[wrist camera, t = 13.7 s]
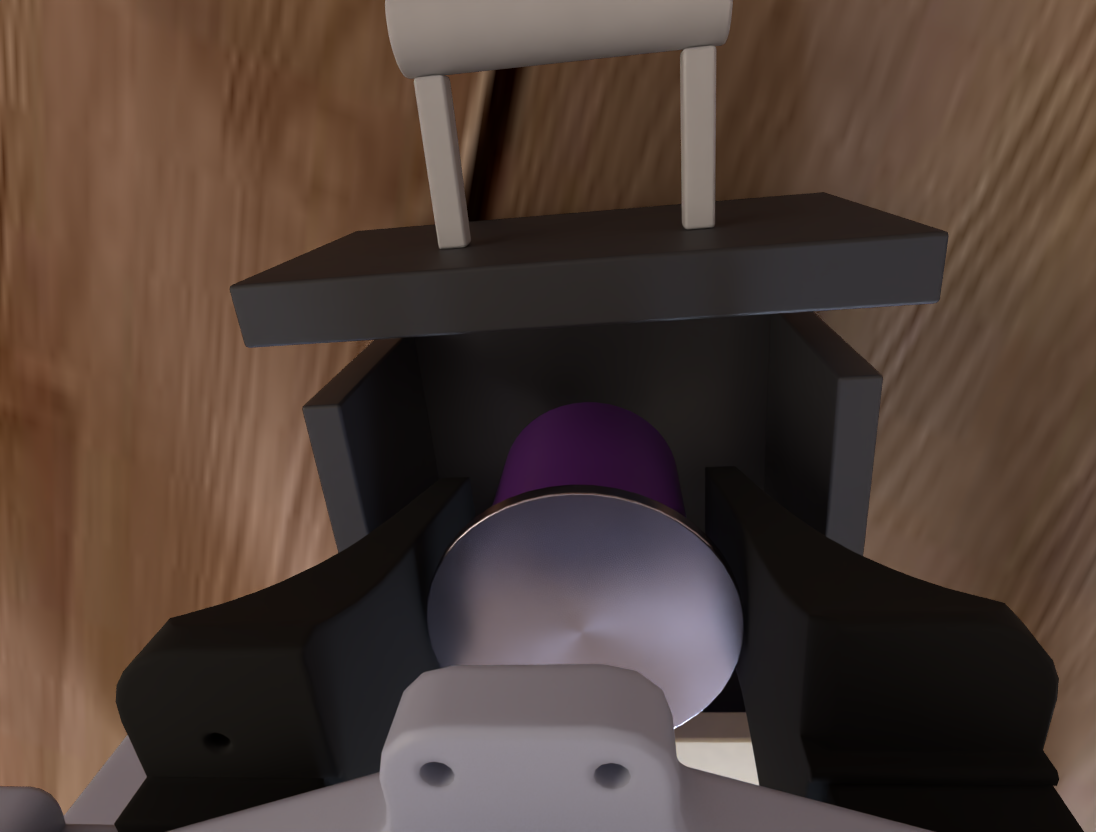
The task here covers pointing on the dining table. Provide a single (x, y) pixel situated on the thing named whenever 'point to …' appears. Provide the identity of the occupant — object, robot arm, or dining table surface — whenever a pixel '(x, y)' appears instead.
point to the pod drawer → (594, 300)
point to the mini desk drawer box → (718, 745)
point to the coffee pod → (591, 564)
